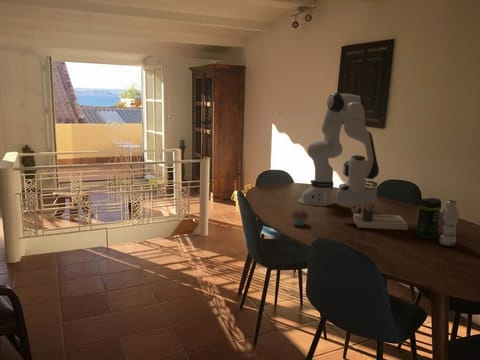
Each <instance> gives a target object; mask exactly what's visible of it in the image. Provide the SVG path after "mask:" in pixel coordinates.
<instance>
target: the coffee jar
mask: <svg viewBox="0 0 480 360" xmlns="http://www.w3.org/2000/svg"><path fill="white" fill-rule="evenodd" d="M441 209H442V201H441V199H440V198H439V199H438V198H436V197H429V198H422V199H420V200H419V203H418V219H417V225H416V230H415V236H416V237H418V238H419V239H425V240H433V239H437V238H439V225H440V224H439V223H440V222H439V220H440V213H441Z"/></svg>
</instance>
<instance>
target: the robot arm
mask: <svg viewBox="0 0 480 360" xmlns="http://www.w3.org/2000/svg"><path fill="white" fill-rule="evenodd" d="M326 103H327V104H326V106H327V111H326V112H325V115H324V120H323V123H322V127H321V133H323V135H324V140H320V141H315V142H312V143H310V144H309V145H308V147H307V155H308V156H309V158H311V160H312V162H313V165H314V179H311V180H310V186H309V187H307V188H306V189H305V190H303V192H302V195H301V197H300V198H298V200H297V202H298V203H299V204H300V203H301V205H303V203H304V202H305V203H304V204H305V205H311V206H321V207H322V206H323V207H325V206H331V205H333V204H335V202H336V203H337V204H343V205H349V206H350V208H351V213H355V214H359V213H358V211H359V209H360V208H361V206H362V205H370V206H374V205H376V195H377V193H378V191H377V189H376V188H374V187H373V186H372V187H370V186H366V180H374V179H375V178H377V176H378V175H379V173H380V167H379V163H378V161H377V154H376V149H375V144H374V139H373V135H372V133H371V131H369V130H368V129H367V127H366V117H365V107H366V100H365V98H364V97H362V96H361V95H358V94H357V95H355V94H353V93H339V92H334V93H331V94H329V96H328V98H327V102H326ZM342 126H343V130H344V133H345V134H346V135H347V136H348V137H349V138H351V139H352V140H356V141H358V142H360V143H361V144H362V145H364V147H365V152H366V157H365V156H363V155H358V154H356V155H355V154H354V155H352V156H350V159H349V160H346V161H345V162H344V163H343V169H342V173H343V175H344V176H345V177H347V178H348V179H347V182H344V183H340V184H339V185H338V188H339V189H338V190H337V192H336V195H335V196H336V197H335V201H334V197H333V190H334V180H333V178H334V168H333V167H332V166H331V165H330V162H329V159H335V158H337V157H340V156H341V155H342V153H343V150H344V149H343V146H342V143H341V141H340V134H341V130H342ZM366 158H367V159H366ZM354 205H356V208H354V207H353V206H354Z"/></svg>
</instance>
